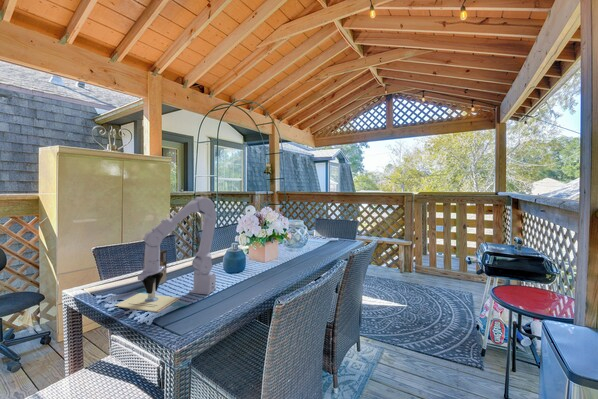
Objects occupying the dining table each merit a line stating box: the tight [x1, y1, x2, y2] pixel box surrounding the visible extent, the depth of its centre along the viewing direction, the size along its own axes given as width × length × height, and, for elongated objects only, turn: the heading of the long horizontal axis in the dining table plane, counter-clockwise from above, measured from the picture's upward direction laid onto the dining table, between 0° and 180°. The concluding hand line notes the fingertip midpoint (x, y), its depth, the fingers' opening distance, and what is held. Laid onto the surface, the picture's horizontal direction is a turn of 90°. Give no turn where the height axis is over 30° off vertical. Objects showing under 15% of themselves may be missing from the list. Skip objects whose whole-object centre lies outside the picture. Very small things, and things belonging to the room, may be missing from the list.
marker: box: [147, 278, 156, 299], centre depth 122 cm, size 3×3×8 cm
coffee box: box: [142, 249, 168, 287], centre depth 141 cm, size 9×6×16 cm
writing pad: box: [113, 292, 181, 313], centre depth 120 cm, size 20×14×1 cm
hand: (151, 291), depth 122 cm, fingers closed on marker, 3 cm apart
